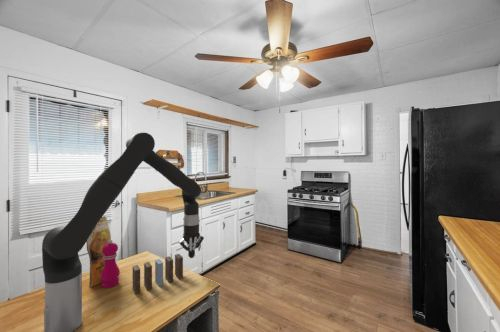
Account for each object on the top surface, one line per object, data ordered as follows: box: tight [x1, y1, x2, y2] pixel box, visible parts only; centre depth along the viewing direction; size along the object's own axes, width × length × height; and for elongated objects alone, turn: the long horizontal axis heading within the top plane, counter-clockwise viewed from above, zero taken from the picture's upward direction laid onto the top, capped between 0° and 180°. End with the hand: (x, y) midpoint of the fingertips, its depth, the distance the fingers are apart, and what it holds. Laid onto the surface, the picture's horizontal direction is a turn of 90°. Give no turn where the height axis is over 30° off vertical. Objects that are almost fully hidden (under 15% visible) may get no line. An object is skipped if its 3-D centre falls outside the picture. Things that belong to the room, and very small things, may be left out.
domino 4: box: [164, 256, 174, 284], centre depth 100 cm, size 2×5×10 cm, turn 39°
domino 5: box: [174, 253, 184, 280], centre depth 103 cm, size 2×5×10 cm, turn 39°
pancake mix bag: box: [85, 215, 112, 288], centre depth 102 cm, size 7×19×28 cm, turn 3°
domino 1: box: [132, 264, 141, 295], centre depth 92 cm, size 2×5×10 cm, turn 39°
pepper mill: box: [101, 239, 121, 289], centre depth 97 cm, size 7×7×20 cm
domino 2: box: [143, 261, 153, 291], centre depth 95 cm, size 2×5×10 cm, turn 39°
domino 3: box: [154, 258, 164, 287], centre depth 98 cm, size 2×5×10 cm, turn 40°
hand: (191, 257), depth 107 cm, fingers closed
